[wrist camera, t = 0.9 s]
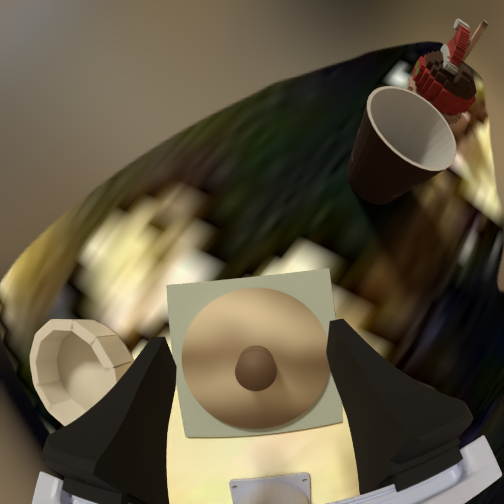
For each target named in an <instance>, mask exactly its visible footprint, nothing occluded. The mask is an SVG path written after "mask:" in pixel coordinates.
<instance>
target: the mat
mask: <svg viewBox="0 0 504 504" xmlns="http://www.w3.org/2000/svg"><path fill="white" fill-rule="evenodd" d="M245 288H268V289H273V290H277V291H280V292H283V293H286V294H288V295H290V296H292V297H294V298H296V299H297V300H299V301H300V302H302V303H303V304H304V305H306V306H307V307H308V308H309V309H310V310H311V311H312V312H313V313H314V315H315V316H316V317H317V318H318V320H319V321H320V323H321V325H322V326H323V329H324V331H325V333H326V336H327V339H328V331H329V322H330V321H332V320H336V319H335V310H334V302H333V294H332V286H331V279H330V272H329V268H328V269H320V270H312V271H303V272H294V273H286V274H277V275H267V276H258V277H249V278H239V279H229V280H218V281H208V282H197V283H186V284H174V285H167V301H168V314H169V325H170V335H171V345H172V354H173V359H174V361H175V363H176V366H177V373H176V384H177V391H178V397H179V403H180V409H181V415H182V421H183V426H184V431H185V436H186V437H232V436H249V435H261V434H271V433H280V432H288V431H295V430H301V429H307V428H313V427H319V426H324V425H329V424H334V423H338V422H343V420H342V401H341V398H340V396H339V393H338V391H337V388H336V385H335V382H334V380H333V377H332V374H331V372H330V368H329V373H328V377H327V380H326V383H325V385H324V388H323V389H322V391H321V393H320V395H319V396H318V398H317V399H316V400H315V402H314V403H313V404H312V405H311V406H310V407H309V408H308V409H307V410H306V411H305V412H303V413H302V414H301V415H299V416H298V417H296V418H294V419H293V420H291V421H289V422H286V423H284V424H282V425H278V426H275V427H270V428H264V429H249V428H242V427H237V426H233V425H230V424H228V423H225V422H223V421H221V420H219V419H217V418H216V417H214V416H212V415H211V414H210V413H208V412H207V411H206V410H205V409H204V408H203V407H202V406H201V405H200V404H199V403H198V402H197V401H196V399H195V398H194V396H193V395H192V394H191V392H190V390H189V388H188V386H187V383H186V381H185V378H184V374H183V369H182V347H183V343H184V339H185V336H186V333H187V331H188V329H189V327H190V325H191V323H192V322H193V320H194V319H195V317H196V316H197V315H198V314H199V313H200V311H201V310H202V309H203V308H204V307H206V306H207V305H208V304H209V303H210V302H212V301H213V300H215V299H217V298H218V297H220V296H222V295H224V294H227V293H229V292H232V291H235V290H239V289H245Z"/></svg>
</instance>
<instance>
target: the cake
mask: <svg viewBox="0 0 504 504" xmlns="http://www.w3.org/2000/svg"><path fill="white" fill-rule="evenodd" d="M487 25H488V23H487V22H486V21H485V20H482V21H481V23H480V25H479V26H478V28H477V30H476V31H475V33H474V35H473V36H472V38H471V40H470V41H469V40H468V39H469V36H470V35H469V33H470V31H469V28H470V27H469V25H467V24H466V23H464V22H463V21H461V20H460V19H457V20H456V22H455V25H454V28H455V29H456V30H457V32H456V34H455V36H454V37H453V38H452V39H451V40H450V41H449V43H448V44H447V45H445V44H444V45H443V46H442V48H441V51H437V52H433V51H432V53H431V54H430V53H428V55H425V56H424V58H423V57H420V59H418V61H417V63H416V65H415V68H414V70H413V77H412V78H411V77H410V78H409V79H408V89H409V90H411V91H412V92H414V93H416V94H418V95H419V96H421V97H423V98H424V99H425V100H427V101H428V102H430V101H432V102H433V106H434V107H435V108H436V109H437V110H438V111H439V112H440V114H441V115H442V116H443V117H444V119H445V120H446V122H447V123H448V124H449V123H450V122H451V123H453V122H455V123H456V122H457V121H458V120H459V119H460V118H461V116H460V113H462V112H463V113H465V112H466V111H467V110H468V108H469V107H470V106H471V105H472V104H473V103H474V102H475V100H476V99H475V94H476V87H475V83H474V79H473V76H472V72H471V71H470V68H468V67H467V66H466V63H464V61H465V59H466V58H467V56H468V55H469V53H470V52H471V50H472V49H473V47H474V46H475V44H476V43H477V41H478V39H479V38H480V36H481V35H482V33H483V32H484V30H485V28H486V27H487ZM468 41H469V43H468Z"/></svg>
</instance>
